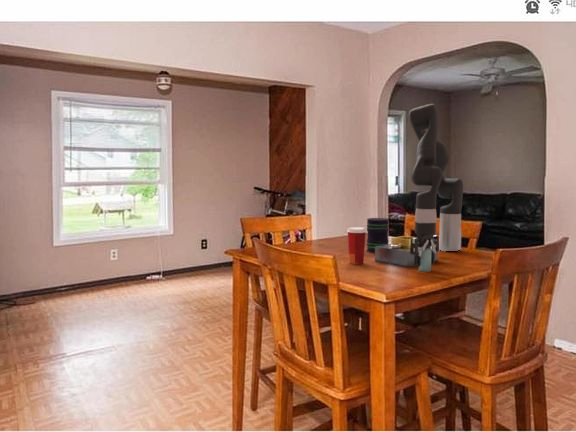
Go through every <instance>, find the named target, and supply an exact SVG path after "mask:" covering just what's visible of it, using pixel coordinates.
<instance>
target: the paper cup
mask: <svg viewBox="0 0 576 432" xmlns="http://www.w3.org/2000/svg"><path fill="white" fill-rule="evenodd" d="M346 232H347V243H348V246H347V248H348V262H349V264H351V265H363V264H364V259H365V247H366V246H365V245H366V233H367V229H366V228H365V227H357V226H356V227H355V226H354V227H348V228H347V230H346Z"/></svg>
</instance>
